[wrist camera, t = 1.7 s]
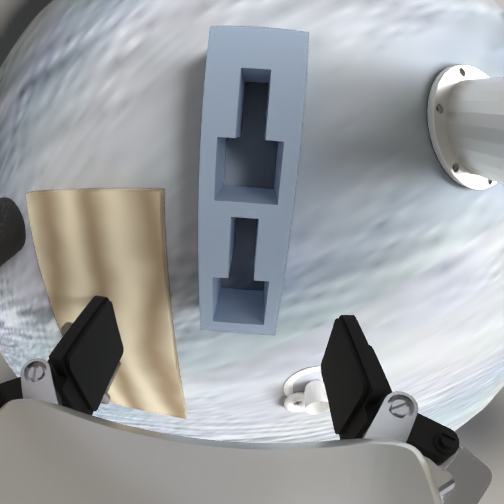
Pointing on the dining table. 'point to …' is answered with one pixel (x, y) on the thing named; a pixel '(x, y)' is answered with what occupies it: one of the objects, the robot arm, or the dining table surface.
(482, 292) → the dining table surface
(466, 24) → the dining table surface
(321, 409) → the white curved piece
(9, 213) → the travel mug
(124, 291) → the board
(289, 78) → the blue slotted peg holder
